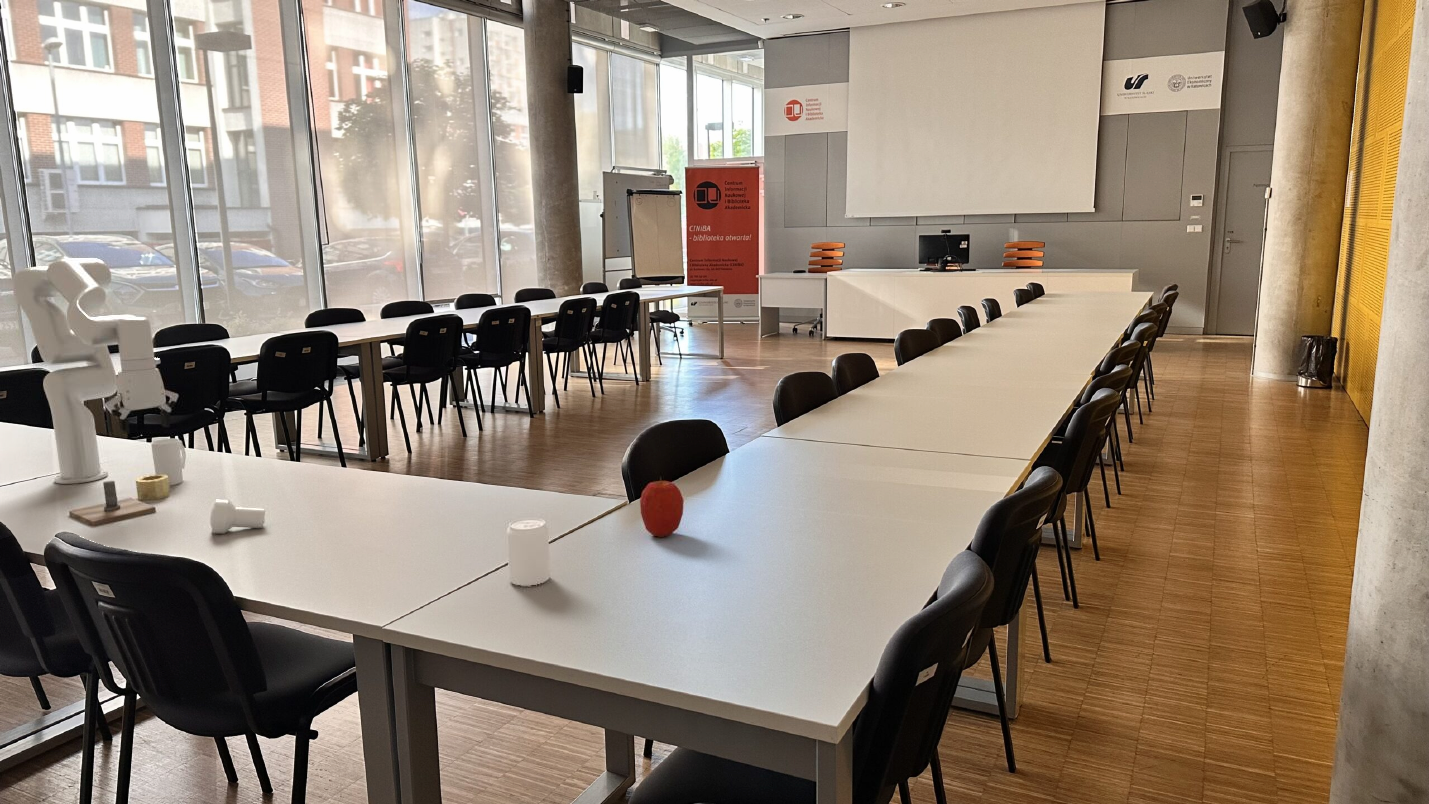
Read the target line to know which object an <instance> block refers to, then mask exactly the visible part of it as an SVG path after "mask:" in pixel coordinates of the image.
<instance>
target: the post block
mask: <svg viewBox="0 0 1429 804" xmlns="http://www.w3.org/2000/svg"><path fill="white" fill-rule="evenodd" d="M102 484H103V491H104V498H105V503H101V504H96V505H91V506H87V507H83V508H77V509H73V510H69V512H68V513H69V514H68V515H69V517H72V518H74V519H75V520H78V521H81V522H83V523H85V524H88V525H89V526H91V527H96V526H101V525H104V524H110V523H112V522H117V521H122V520H127V519H131V518H135V517H138V516H139V517H140V516H145V515H147V514H152V513H156V512H157V511H156V507H155V506H153V505H151V504H148V503H145V502H142V501H140V500H139V499H138V500H137V499H135V498H132V497H128V498H125V499H120V500H118V497H117V489H116V482H115V480H107V481H104V482H103V483H102Z"/></svg>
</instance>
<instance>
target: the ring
mask: <svg viewBox="0 0 1429 804" xmlns="http://www.w3.org/2000/svg"><path fill="white" fill-rule="evenodd" d="M135 487H136V494H137V499H138V500H139V501H140V500H141V501H152V500H153V501H155V500H161V499H164V498H166V497H169V496H170V495H171V487H170V486H169V479H168V475H162V474H157V475H156V474H149V475H144V476H141V477H137V478H136V479H135Z"/></svg>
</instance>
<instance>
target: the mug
mask: <svg viewBox="0 0 1429 804" xmlns="http://www.w3.org/2000/svg"><path fill="white" fill-rule="evenodd" d="M150 444H151V452H152V459H153V466H154V472H155V474H154V475H157V474H162V475H168V479H169V487H170V486H174V485H180V484H182V483H184V482H183V481H184V479H183V469H185V466H186V457H187V455H186V449H185V446H184V445H183V441H182V440H180V439H179V438H163V439H161V438H160V439H156V440H153V441H151V442H150Z"/></svg>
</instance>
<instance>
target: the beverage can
mask: <svg viewBox="0 0 1429 804" xmlns="http://www.w3.org/2000/svg"><path fill="white" fill-rule="evenodd" d="M549 543H550V542H549V527H548V526H547V524H546V521H545V520H544V519H541V518H538V517H535V518H534V517H526V518H525V517H524V518H519V519H518V518H517V519H515V520H513V521H511V522H509V524H508V527H507V529H506V546H507V549H506V550H507V566H508V581H509V582H510V583H511V584H514V585H516V586H518V585H521V586H520V587H526V586H527V587H531V586H530V585H536V586H538V585H537V584H539V585H541V584H540V583H542V584H543V583H545V582H547V581H548V580H549V579H550V578H551V569H550V567H551V565H550V544H549Z"/></svg>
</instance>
